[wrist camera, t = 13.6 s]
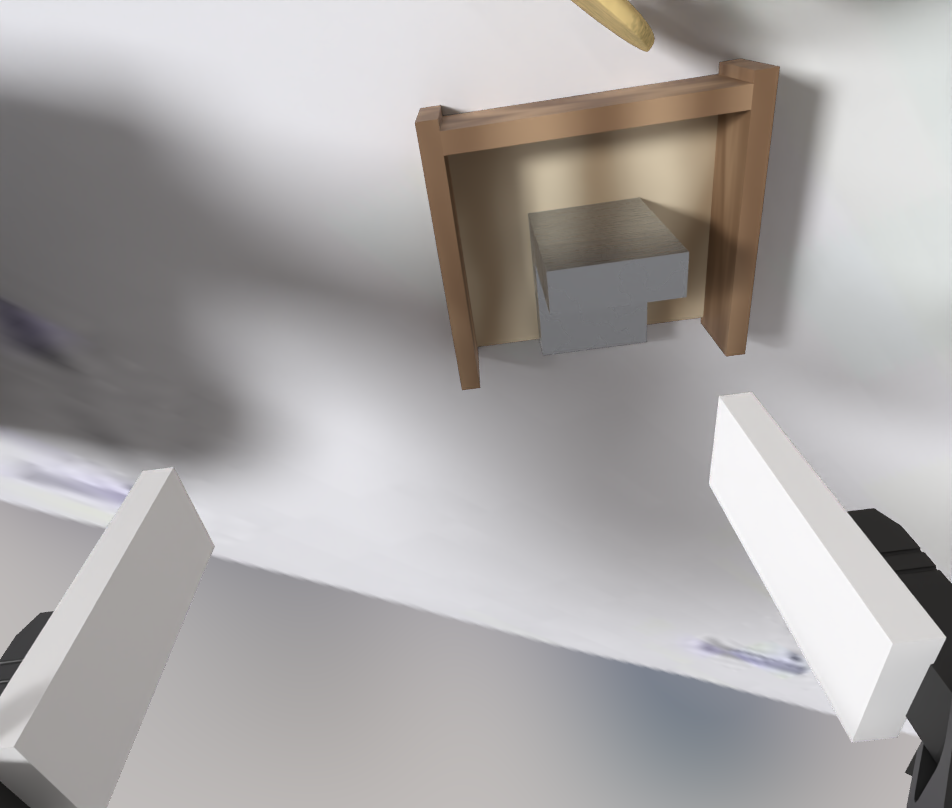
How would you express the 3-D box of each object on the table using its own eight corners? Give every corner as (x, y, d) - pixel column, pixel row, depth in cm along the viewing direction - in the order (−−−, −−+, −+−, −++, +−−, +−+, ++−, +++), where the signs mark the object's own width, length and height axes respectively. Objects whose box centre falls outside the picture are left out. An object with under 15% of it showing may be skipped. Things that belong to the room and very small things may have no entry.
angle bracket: (527, 213, 39) (546, 271, 30) (639, 197, 38) (689, 252, 30) (539, 339, 44) (557, 419, 35) (637, 326, 43) (680, 403, 35)
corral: (461, 353, 45) (462, 390, 40) (420, 108, 36) (414, 122, 31) (717, 320, 44) (745, 354, 39) (741, 58, 35) (779, 66, 30)
